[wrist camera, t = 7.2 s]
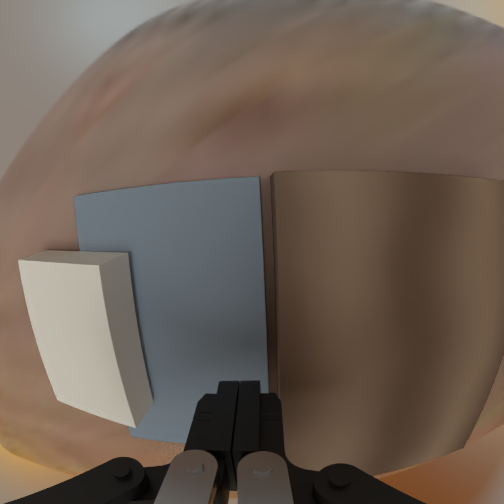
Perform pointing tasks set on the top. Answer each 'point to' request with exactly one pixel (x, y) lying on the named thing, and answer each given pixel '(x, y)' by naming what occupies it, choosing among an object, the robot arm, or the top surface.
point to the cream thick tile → (88, 331)
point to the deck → (385, 313)
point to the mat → (187, 287)
